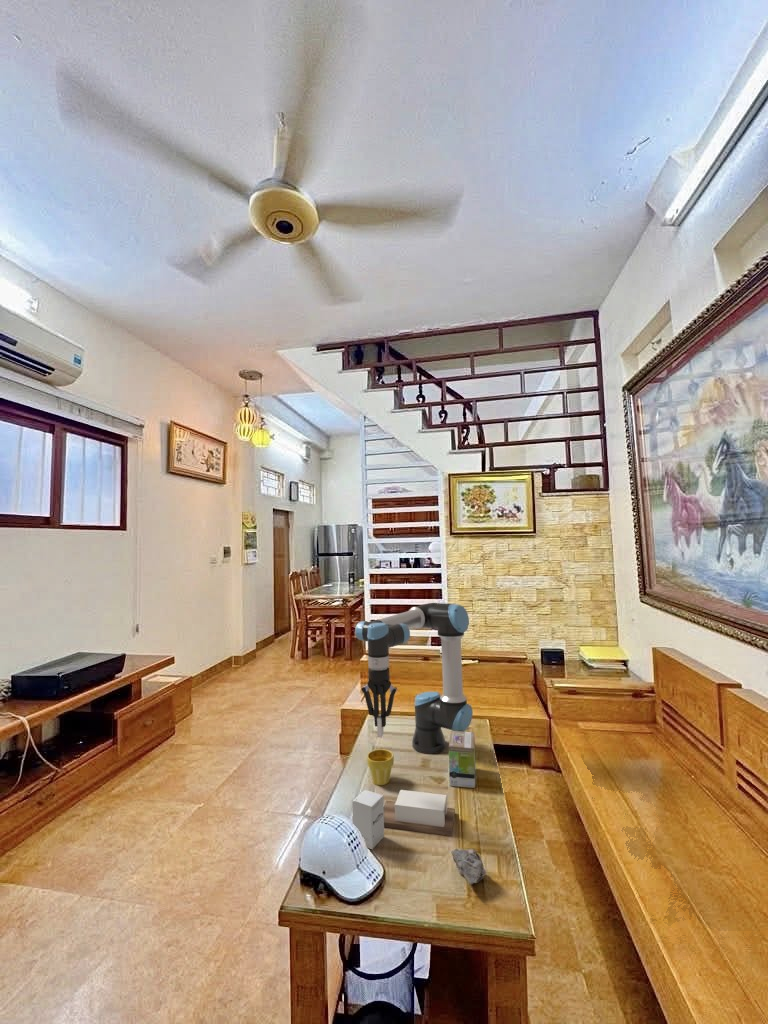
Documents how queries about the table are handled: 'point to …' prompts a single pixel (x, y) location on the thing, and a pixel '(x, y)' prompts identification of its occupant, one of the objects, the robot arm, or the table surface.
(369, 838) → the supplement box
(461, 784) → the tea box
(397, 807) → the panel
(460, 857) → the mineral specimen
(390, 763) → the plant pot
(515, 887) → the table surface
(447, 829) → the board
